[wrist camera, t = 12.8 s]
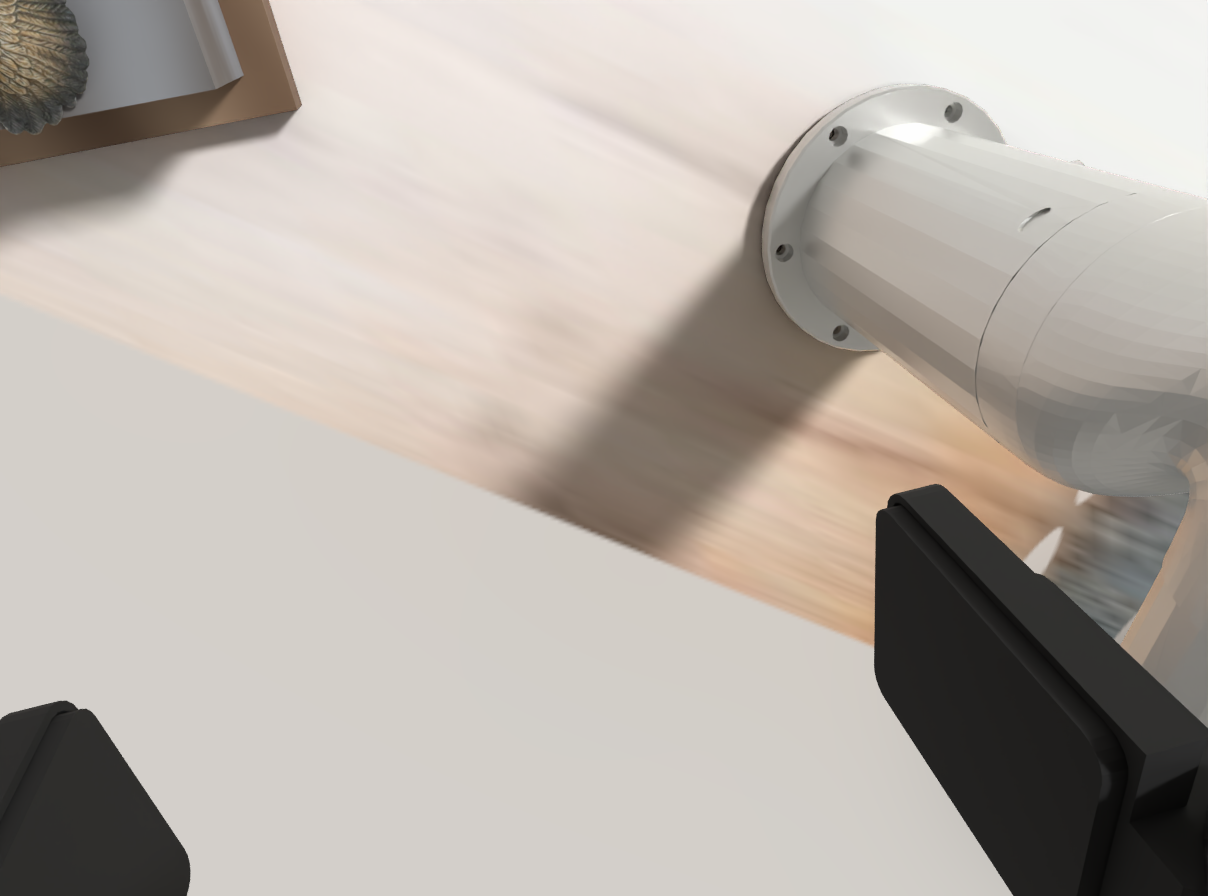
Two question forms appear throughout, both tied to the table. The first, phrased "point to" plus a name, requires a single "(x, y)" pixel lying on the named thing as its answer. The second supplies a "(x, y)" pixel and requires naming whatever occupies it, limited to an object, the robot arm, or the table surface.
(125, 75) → the pedestal
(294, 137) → the table surface
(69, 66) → the eagle figurine
